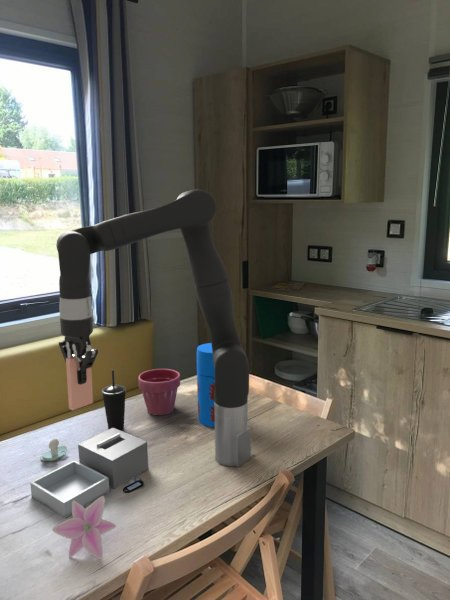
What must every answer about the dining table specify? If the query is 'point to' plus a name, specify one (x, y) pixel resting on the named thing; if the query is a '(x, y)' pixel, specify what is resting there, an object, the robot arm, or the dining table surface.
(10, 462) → the dining table surface
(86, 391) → the tall pink plank
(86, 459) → the dispenser
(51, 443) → the pacifier
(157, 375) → the plant pot
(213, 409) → the thermos
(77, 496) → the bin
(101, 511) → the lily
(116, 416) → the drinking cup
